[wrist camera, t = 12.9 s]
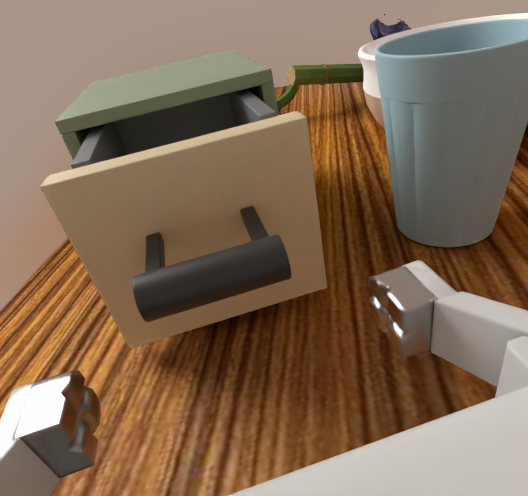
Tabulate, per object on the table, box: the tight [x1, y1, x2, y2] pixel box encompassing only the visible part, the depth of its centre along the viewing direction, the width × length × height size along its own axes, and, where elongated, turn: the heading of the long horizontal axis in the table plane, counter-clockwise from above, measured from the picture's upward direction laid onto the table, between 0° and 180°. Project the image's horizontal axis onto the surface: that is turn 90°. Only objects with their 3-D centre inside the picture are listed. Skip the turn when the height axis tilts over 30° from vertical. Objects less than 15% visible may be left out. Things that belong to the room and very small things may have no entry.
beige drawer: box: [41, 89, 327, 349], centre depth 20 cm, size 17×10×9 cm, turn 14°
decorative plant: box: [276, 64, 364, 113], centre depth 48 cm, size 6×8×30 cm
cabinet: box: [55, 50, 279, 160], centre depth 28 cm, size 13×11×10 cm
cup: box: [374, 19, 528, 247], centre depth 21 cm, size 8×8×10 cm
